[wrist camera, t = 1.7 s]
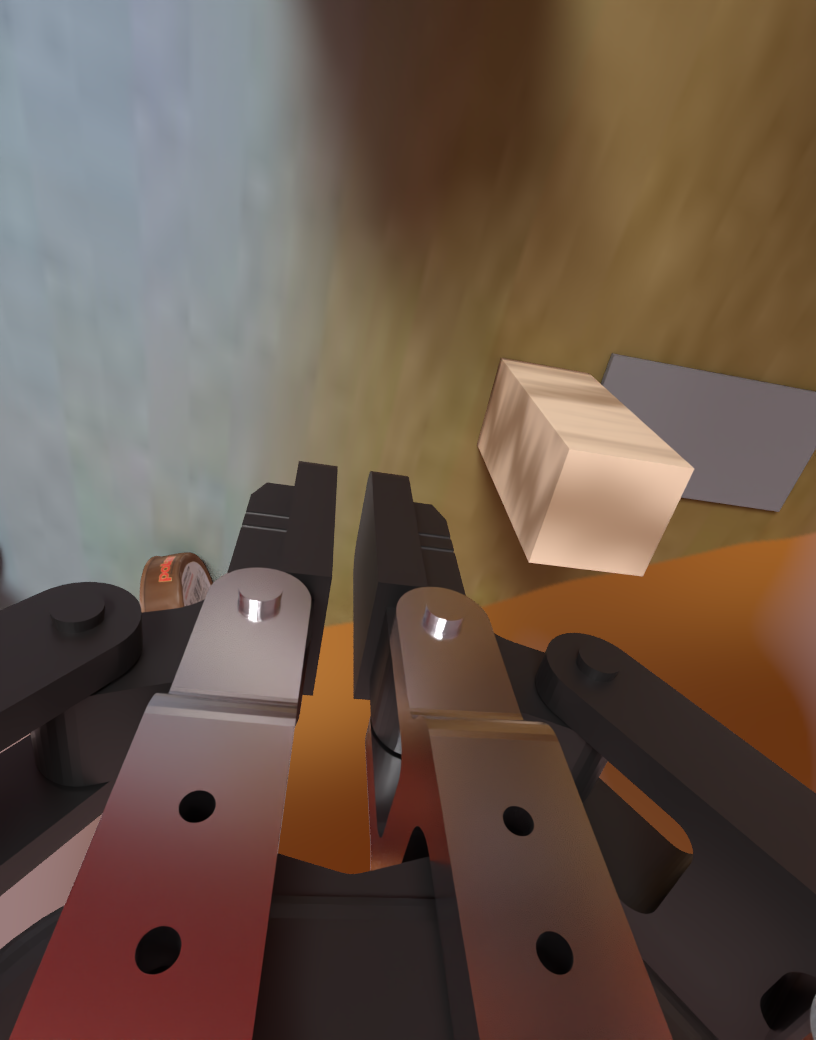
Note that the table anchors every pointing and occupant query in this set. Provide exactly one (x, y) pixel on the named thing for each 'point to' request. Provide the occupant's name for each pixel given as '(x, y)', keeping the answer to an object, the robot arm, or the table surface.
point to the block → (578, 470)
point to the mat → (722, 428)
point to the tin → (173, 582)
